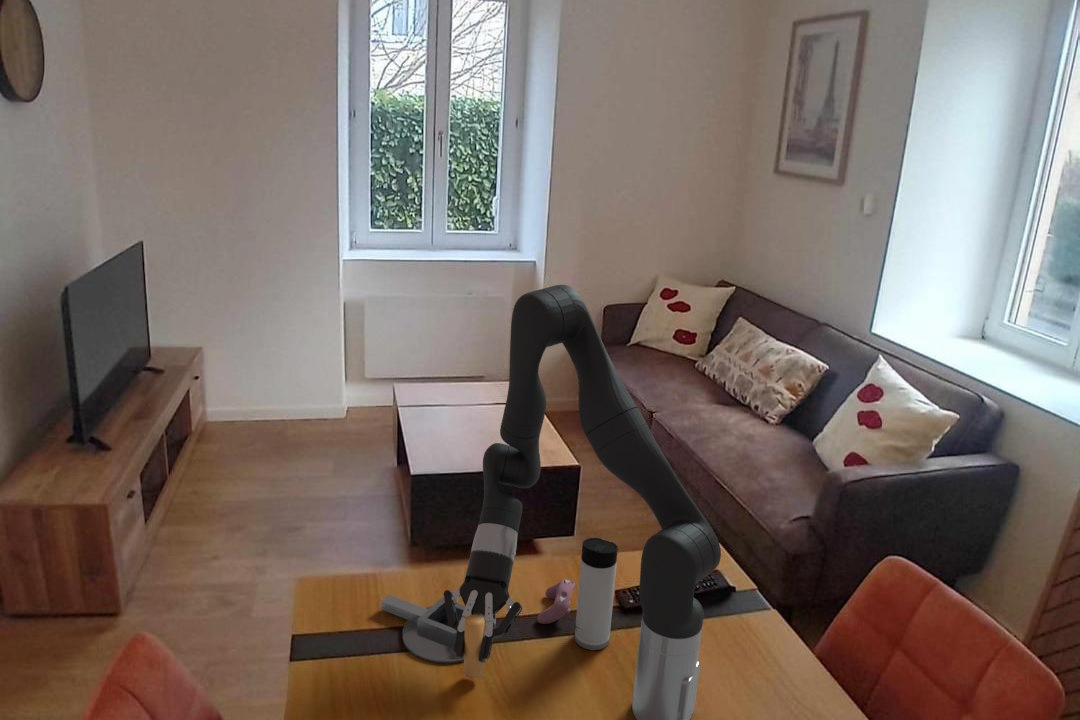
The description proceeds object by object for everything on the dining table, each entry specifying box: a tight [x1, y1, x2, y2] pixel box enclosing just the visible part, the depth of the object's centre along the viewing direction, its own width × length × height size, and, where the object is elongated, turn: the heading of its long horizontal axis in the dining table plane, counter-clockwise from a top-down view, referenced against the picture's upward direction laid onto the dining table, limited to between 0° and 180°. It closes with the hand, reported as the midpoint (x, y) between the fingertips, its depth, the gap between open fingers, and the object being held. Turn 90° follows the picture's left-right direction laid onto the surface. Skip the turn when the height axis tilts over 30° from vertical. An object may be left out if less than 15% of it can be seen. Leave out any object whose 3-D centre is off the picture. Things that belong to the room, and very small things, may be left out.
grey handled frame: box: [380, 594, 485, 664], centre depth 148 cm, size 22×16×4 cm
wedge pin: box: [463, 614, 485, 679], centre depth 135 cm, size 3×3×10 cm
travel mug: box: [574, 537, 619, 651], centre depth 145 cm, size 6×7×20 cm
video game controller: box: [536, 578, 576, 625], centre depth 155 cm, size 10×5×7 cm, turn 169°
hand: (470, 659), depth 133 cm, fingers closed on wedge pin, 3 cm apart
